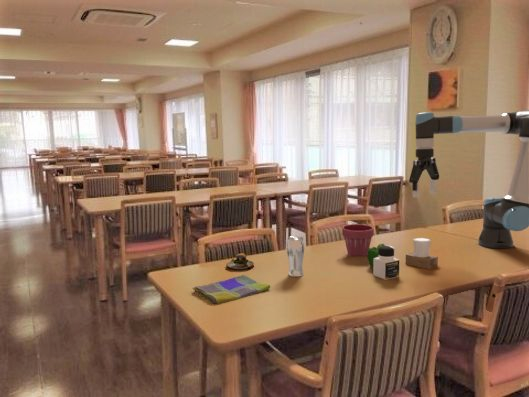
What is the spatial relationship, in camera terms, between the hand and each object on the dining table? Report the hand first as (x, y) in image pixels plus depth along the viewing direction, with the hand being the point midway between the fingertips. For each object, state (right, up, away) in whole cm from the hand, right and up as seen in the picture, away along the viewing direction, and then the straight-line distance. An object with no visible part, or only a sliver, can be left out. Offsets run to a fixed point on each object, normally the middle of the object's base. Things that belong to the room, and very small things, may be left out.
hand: (424, 196), depth 203 cm
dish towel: (-84, -36, -36) cm, 98 cm away
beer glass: (-59, -32, -20) cm, 70 cm away
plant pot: (-28, -27, +7) cm, 40 cm away
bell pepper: (-24, -30, -13) cm, 41 cm away
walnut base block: (-5, -29, -12) cm, 32 cm away
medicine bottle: (-24, -32, -25) cm, 47 cm away
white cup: (-6, -25, -12) cm, 29 cm away
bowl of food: (-82, -31, -7) cm, 88 cm away
